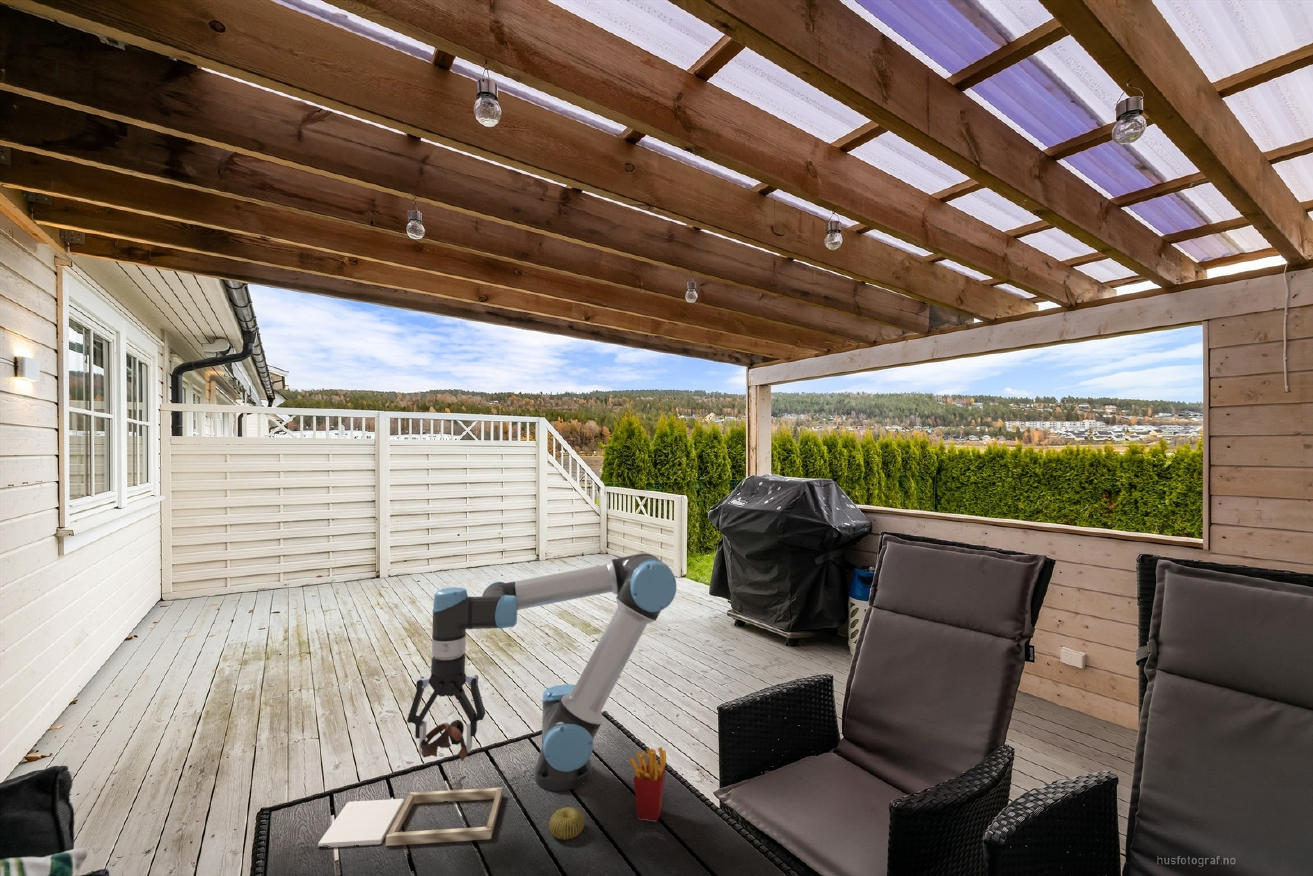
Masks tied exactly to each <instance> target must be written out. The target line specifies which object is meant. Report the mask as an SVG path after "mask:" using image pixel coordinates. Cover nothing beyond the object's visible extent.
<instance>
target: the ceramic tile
mask: <svg viewBox="0 0 1313 876" xmlns="http://www.w3.org/2000/svg"><path fill="white" fill-rule="evenodd" d="M404 799H405V798H392V799H377V800H375V799H374V800H357V801H354V800H353V801H347V803H346V804H345V805H344V807H343V808H342V810H341V811H340V812H339V814H338V815H337V816H336V818H335V819H334V821H333V822H332V824H331V825H330V826H329V828H328V829H327V830H326V832H325V833H324V834H323V836H322V837H321V838H320V840H319V841H318V844H317V847H318V846H323V845H328V846H330V847H329V848H340V847H343V848H344V847H353V846H354V845H355V846H356V845H359V846H373V845H381V844H382V843H383V841H384V839H385V838H386V836H387V834H388V832H389V830H390V828H391V827H392V825H393V823H394V821H395V819H396V817H397V816H398V814H399V812H400V810H401V808H402V807H403V805H404V803H405V802H404V801H405V800H404ZM355 846H354V847H355Z"/></svg>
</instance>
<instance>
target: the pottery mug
mask: <svg viewBox="0 0 1313 876" xmlns="http://www.w3.org/2000/svg"><path fill="white" fill-rule="evenodd" d="M464 730H465V729H464V723H463V722H462V721H461V720H460V719H455V720H453V721H452V722H450V723H448V722H444V723H441V724H438V725H437V726H435V727H434V728H432V730H430V731H429V732H427V733H426V741H425V739H423V741H422V742H421V744H420V747H421V748H422V754H421V756H422V758H428V757H430V756H433V757H436V758H437V757H438V750H439V749H438V748H440V749H442V748H443V749H444V748H445V749H449V748H450V747H452V745H457V746H458V745H460V750H459V752H458V755H459V758H460V761H461V762H463V761H464V760H465V759H466V757H467V756H468V753H469V752H467V749H466V742H465V739H464V732H465V731H464ZM441 732H442V733H441ZM440 733H441V735H440V736H438V737H437V738H436V739H435V740H433V741H432V742H431V740H432V739H433V738H434V737H436V736H437V735H438V734H440Z"/></svg>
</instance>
